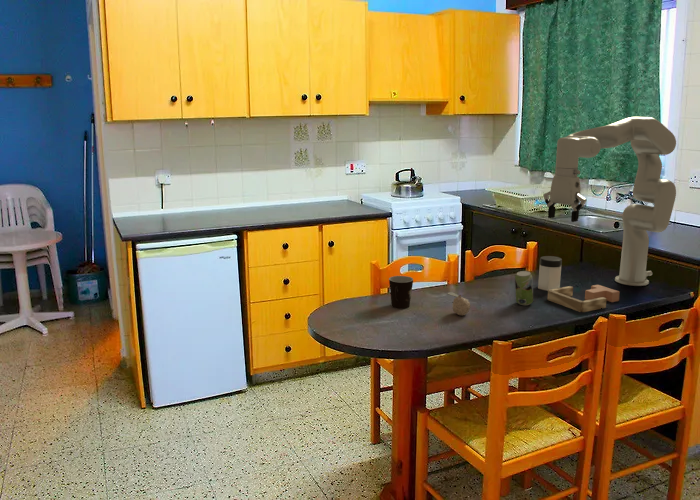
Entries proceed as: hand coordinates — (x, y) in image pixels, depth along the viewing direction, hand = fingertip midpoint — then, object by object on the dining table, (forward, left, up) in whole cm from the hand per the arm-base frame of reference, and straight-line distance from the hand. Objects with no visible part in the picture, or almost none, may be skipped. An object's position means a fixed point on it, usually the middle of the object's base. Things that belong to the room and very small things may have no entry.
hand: (562, 219), depth 234 cm
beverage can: (+17, +1, -30) cm, 34 cm away
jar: (-6, -10, -30) cm, 32 cm away
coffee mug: (+59, -17, -30) cm, 68 cm away
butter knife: (+32, -11, -30) cm, 45 cm away
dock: (-1, +9, -29) cm, 31 cm away
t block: (-12, +9, -30) cm, 33 cm away
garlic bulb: (+44, 0, -30) cm, 53 cm away
